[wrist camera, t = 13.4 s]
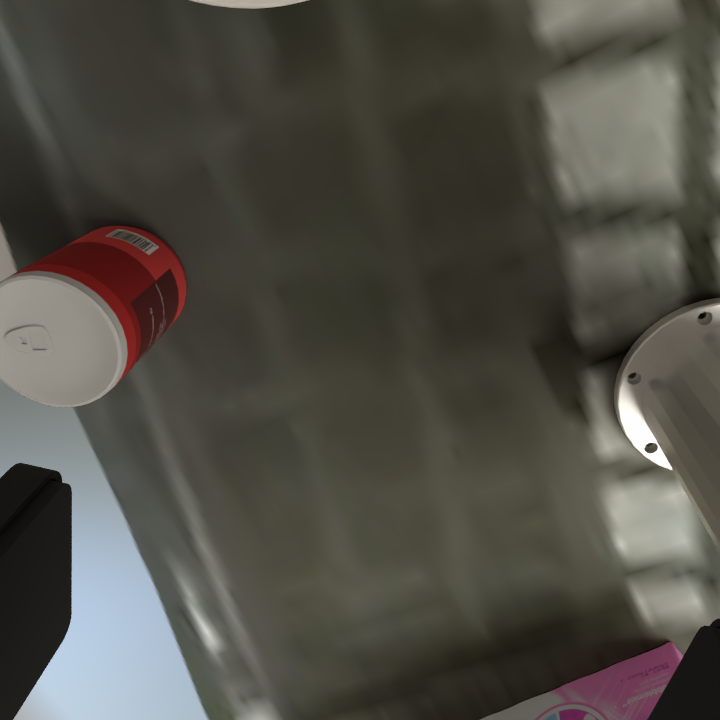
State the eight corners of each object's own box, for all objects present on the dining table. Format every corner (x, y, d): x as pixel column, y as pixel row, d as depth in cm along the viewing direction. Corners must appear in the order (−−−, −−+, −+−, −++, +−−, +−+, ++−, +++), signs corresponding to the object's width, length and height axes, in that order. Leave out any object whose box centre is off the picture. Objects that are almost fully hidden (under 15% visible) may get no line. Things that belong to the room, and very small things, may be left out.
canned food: (54, 240, 44) (-55, 296, 34) (162, 206, 43) (81, 256, 33) (105, 343, 47) (18, 422, 37) (208, 315, 45) (146, 391, 36)
